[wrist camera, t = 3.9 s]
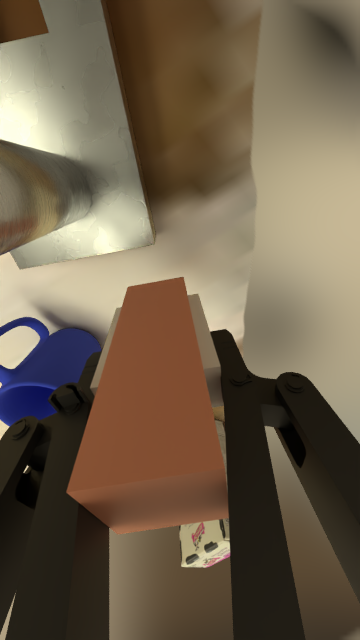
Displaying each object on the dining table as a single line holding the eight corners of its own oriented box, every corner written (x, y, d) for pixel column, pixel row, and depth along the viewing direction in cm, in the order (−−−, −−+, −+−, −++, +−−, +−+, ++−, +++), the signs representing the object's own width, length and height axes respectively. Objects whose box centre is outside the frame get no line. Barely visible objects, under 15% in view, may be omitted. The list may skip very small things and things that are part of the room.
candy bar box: (195, 450, 45) (209, 568, 31) (173, 445, 44) (178, 567, 30) (224, 420, 40) (257, 545, 26) (201, 414, 39) (222, 543, 25)
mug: (53, 282, 24) (-7, 337, 15) (121, 352, 30) (104, 419, 21) (1, 316, 26) (-77, 381, 17) (76, 376, 32) (44, 446, 23)
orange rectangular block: (127, 286, 15) (66, 492, 5) (183, 276, 15) (225, 467, 5) (142, 331, 18) (117, 534, 8) (190, 322, 17) (230, 517, 8)
